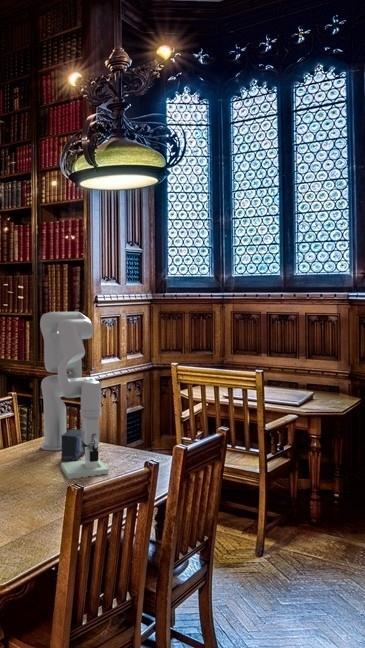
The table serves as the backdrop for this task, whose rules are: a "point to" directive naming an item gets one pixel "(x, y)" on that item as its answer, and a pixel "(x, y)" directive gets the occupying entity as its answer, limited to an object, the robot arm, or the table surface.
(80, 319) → the robot arm
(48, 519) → the table surface
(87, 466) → the block
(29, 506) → the table surface
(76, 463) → the plate
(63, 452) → the small box
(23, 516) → the table surface
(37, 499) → the table surface
